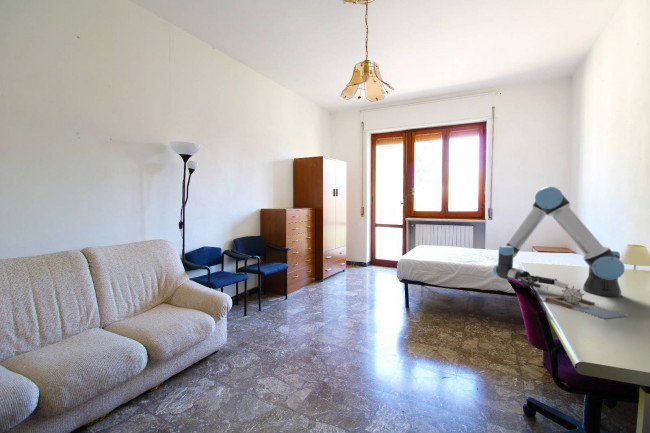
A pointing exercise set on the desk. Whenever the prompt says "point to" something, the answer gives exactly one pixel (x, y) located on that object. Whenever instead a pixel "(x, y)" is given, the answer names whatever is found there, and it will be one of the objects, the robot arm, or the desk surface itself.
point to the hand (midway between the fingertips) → (557, 287)
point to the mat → (600, 312)
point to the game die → (572, 295)
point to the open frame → (557, 301)
